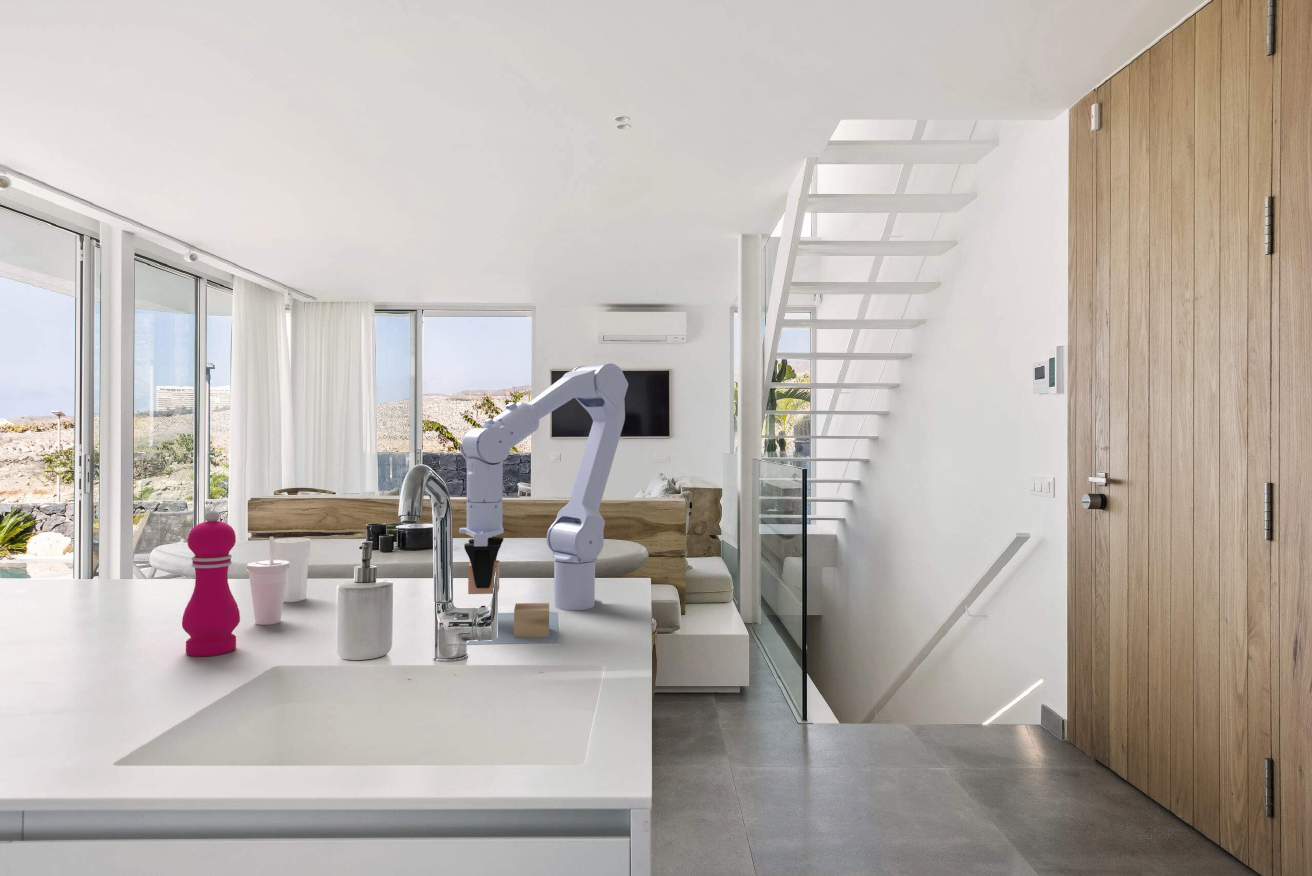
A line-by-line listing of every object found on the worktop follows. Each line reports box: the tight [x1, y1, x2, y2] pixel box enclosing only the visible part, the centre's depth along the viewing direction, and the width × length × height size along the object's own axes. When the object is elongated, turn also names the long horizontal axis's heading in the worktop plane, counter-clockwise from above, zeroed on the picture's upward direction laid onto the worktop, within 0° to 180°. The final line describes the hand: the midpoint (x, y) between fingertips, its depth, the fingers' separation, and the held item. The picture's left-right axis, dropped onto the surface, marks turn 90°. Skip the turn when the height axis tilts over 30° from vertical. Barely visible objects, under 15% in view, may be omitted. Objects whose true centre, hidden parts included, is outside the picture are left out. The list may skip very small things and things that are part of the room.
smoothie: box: [246, 536, 290, 626], centre depth 131 cm, size 6×6×14 cm
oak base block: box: [513, 602, 550, 638], centre depth 123 cm, size 5×5×4 cm
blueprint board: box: [466, 611, 560, 646], centre depth 126 cm, size 20×16×1 cm
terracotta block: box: [467, 559, 500, 595], centre depth 131 cm, size 5×5×5 cm
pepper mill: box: [181, 509, 241, 658], centre depth 114 cm, size 7×7×20 cm
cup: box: [273, 537, 311, 603], centre depth 149 cm, size 7×7×11 cm
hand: (484, 584), depth 131 cm, fingers closed on terracotta block, 5 cm apart
